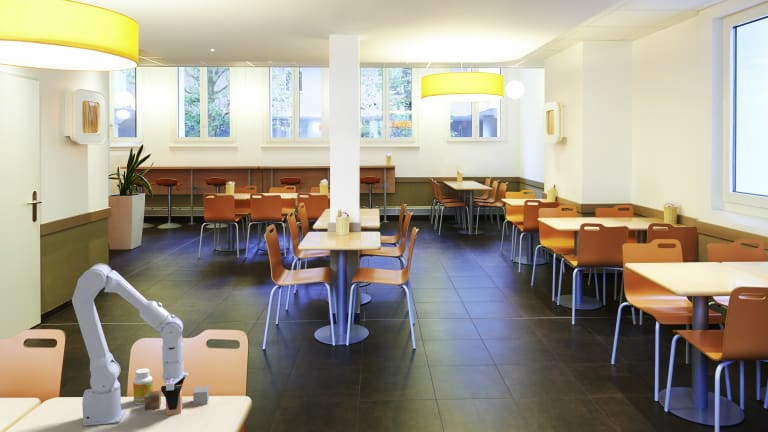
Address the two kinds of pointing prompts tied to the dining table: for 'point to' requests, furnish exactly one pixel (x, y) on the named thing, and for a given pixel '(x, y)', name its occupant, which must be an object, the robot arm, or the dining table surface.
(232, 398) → the dining table surface
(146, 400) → the walnut block
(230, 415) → the dining table surface
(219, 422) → the dining table surface
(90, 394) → the robot arm
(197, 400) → the slate block
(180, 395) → the terracotta block
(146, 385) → the supplement bottle
